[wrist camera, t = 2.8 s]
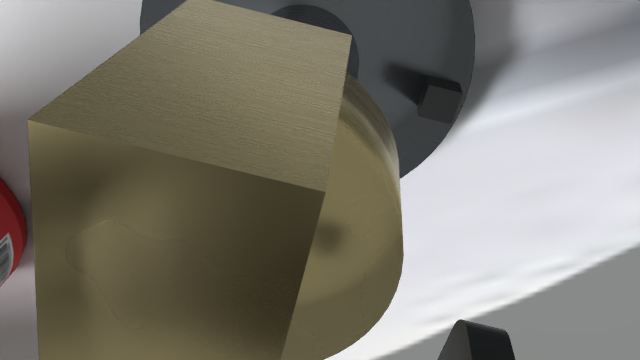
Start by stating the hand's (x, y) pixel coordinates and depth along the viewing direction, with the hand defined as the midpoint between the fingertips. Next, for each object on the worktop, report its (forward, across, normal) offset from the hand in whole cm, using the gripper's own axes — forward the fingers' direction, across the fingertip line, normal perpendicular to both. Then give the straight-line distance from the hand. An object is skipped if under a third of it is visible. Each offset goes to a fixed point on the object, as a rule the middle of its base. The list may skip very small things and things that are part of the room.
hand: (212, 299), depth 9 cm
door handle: (+4, 0, +1) cm, 4 cm away
